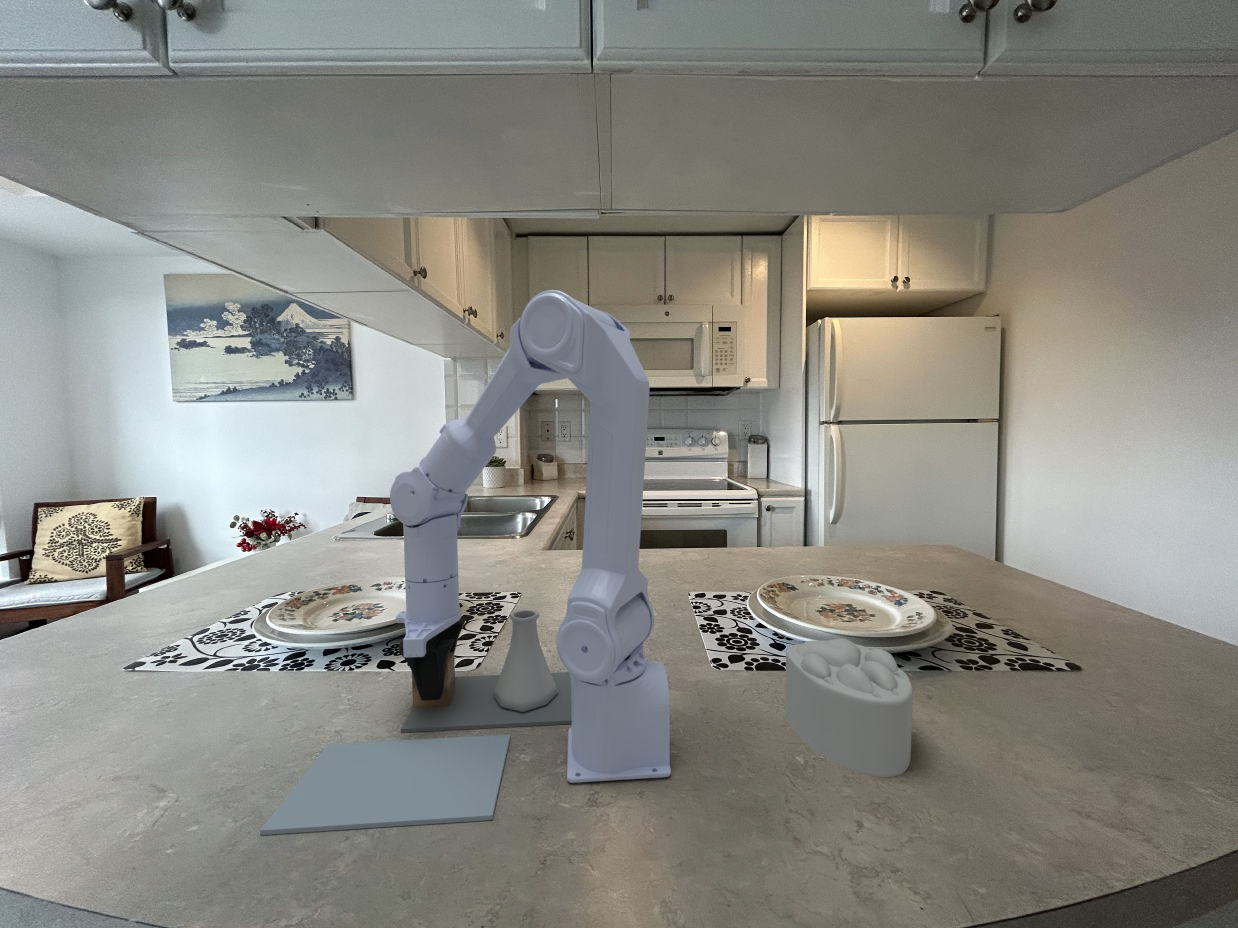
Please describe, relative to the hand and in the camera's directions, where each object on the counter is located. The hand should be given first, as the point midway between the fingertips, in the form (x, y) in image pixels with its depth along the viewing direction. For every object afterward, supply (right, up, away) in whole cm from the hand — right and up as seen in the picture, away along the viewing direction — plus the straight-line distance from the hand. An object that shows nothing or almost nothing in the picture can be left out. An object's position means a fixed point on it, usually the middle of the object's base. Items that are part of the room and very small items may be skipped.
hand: (435, 690), depth 59 cm
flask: (+10, -1, +1) cm, 10 cm away
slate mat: (+2, -3, -13) cm, 13 cm away
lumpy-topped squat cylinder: (+45, -2, -6) cm, 46 cm away
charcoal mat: (+7, -2, +1) cm, 7 cm away
